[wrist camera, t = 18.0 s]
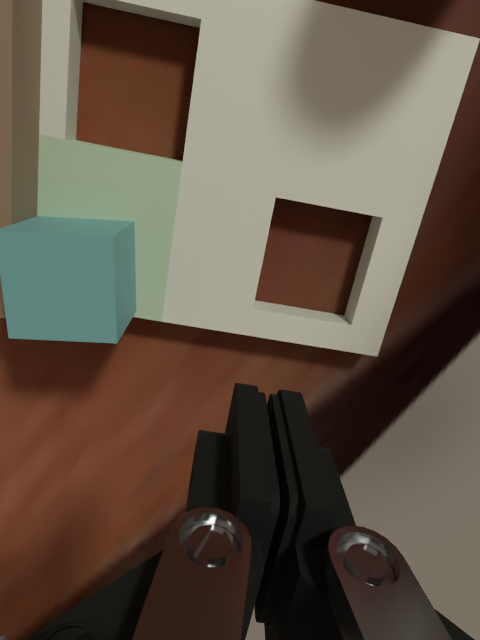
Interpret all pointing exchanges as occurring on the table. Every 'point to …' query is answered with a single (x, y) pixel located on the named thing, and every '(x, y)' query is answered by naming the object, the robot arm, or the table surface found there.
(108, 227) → the block
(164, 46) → the table surface
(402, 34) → the tray
